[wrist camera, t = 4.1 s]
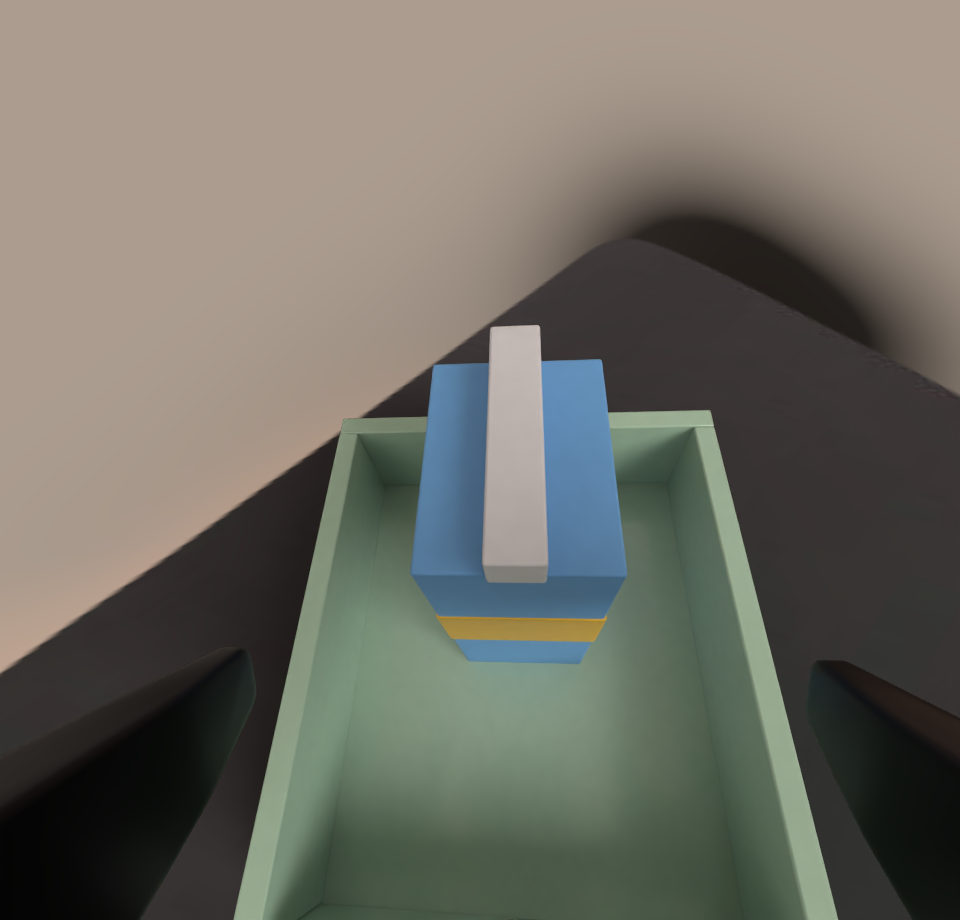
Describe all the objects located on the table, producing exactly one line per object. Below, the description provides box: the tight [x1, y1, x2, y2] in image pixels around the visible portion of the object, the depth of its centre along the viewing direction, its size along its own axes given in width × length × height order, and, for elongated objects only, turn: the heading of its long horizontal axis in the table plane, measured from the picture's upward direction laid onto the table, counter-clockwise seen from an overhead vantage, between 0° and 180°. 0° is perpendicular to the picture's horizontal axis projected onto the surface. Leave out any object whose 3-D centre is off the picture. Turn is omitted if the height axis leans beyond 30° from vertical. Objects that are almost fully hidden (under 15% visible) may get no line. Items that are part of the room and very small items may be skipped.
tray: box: [234, 410, 838, 920], centre depth 16 cm, size 15×13×5 cm
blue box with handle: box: [410, 325, 627, 664], centre depth 14 cm, size 6×4×11 cm
